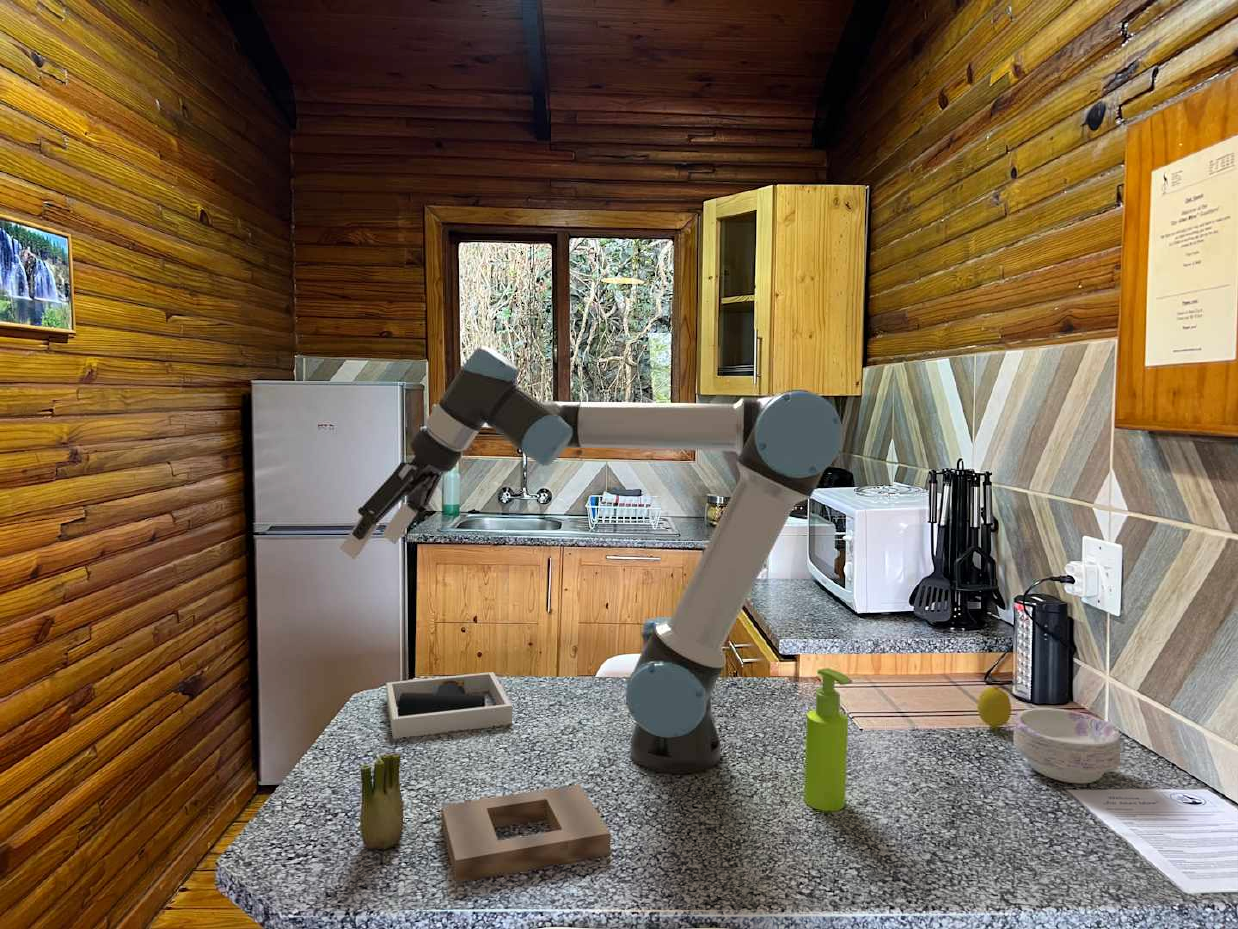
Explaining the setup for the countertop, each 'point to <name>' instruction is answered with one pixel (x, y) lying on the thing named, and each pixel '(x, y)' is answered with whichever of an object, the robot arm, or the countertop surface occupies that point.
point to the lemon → (994, 707)
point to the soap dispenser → (826, 747)
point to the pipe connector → (439, 699)
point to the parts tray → (448, 719)
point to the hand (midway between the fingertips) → (369, 545)
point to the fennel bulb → (381, 803)
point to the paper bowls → (1067, 744)
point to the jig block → (486, 856)
